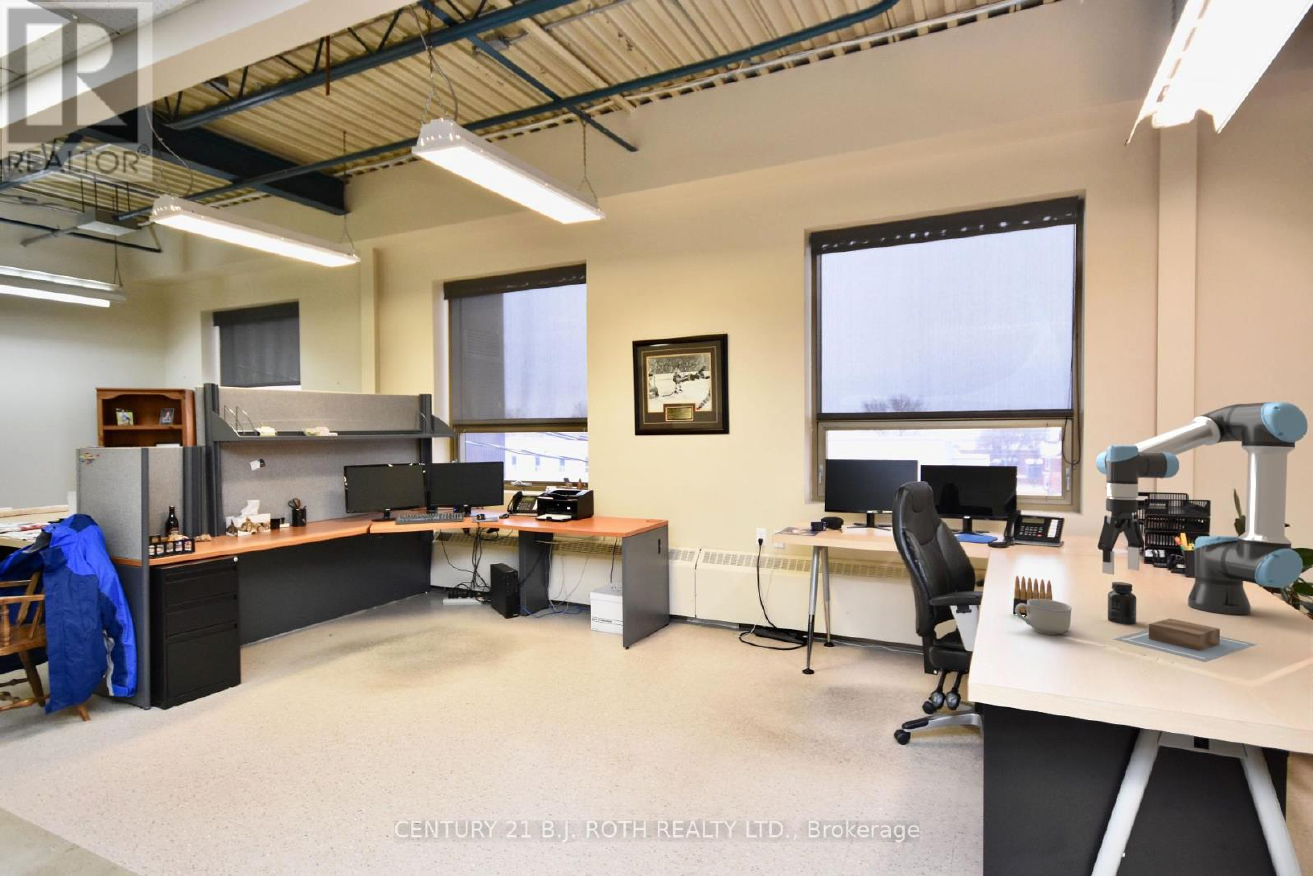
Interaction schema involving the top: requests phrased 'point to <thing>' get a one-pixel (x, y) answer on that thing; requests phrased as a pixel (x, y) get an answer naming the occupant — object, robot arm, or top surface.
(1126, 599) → the supplement bottle
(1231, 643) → the board
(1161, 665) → the top surface
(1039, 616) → the teacup
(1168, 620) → the walnut plinth
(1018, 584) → the ammunition clip
